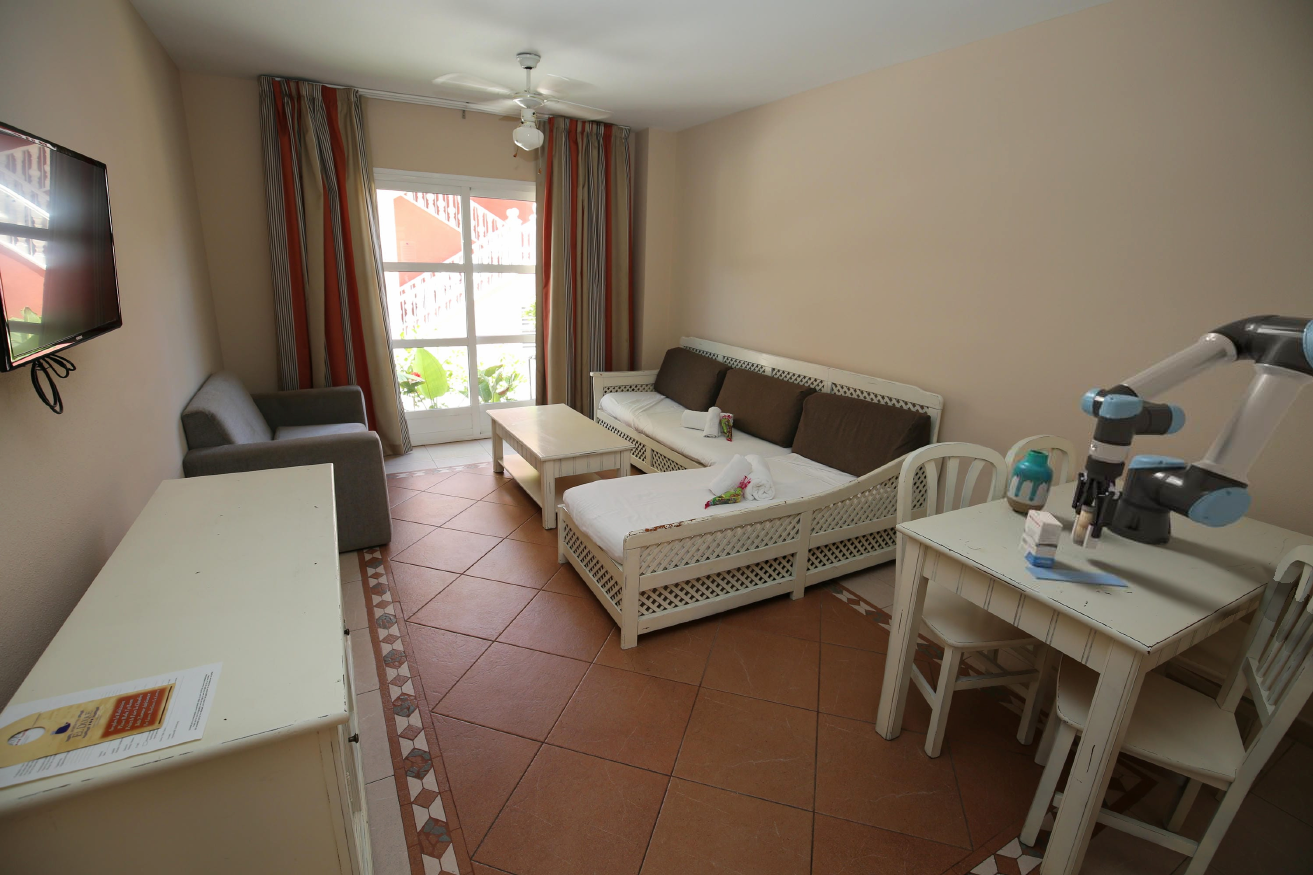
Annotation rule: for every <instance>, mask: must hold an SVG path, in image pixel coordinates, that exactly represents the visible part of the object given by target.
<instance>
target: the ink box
mask: <svg viewBox="0 0 1313 875" xmlns="http://www.w3.org/2000/svg"><path fill="white" fill-rule="evenodd" d="M1063 528H1064V525H1063V524H1062V523H1061V522H1060V521H1059V520H1057V519H1056V518H1055V517H1054V516H1053V515H1052V514H1051V513H1050V512H1049V511H1042V510H1041V511H1036V510H1029V513H1027V518H1026V520H1025V525H1024V528H1023V531H1022V532H1023V533H1022V535H1021V536H1022V537H1021V540H1020V544H1019V548H1018V551H1019V552H1020V553H1021V554H1022V556H1024V557H1025V559H1026V560H1027V561H1028V562H1029V563H1030V564H1031V565H1032V566H1033V567H1035V566H1037V567H1042V568H1053V564H1054V562H1055V557H1056V553H1057V549H1058V545H1059V543H1060V542H1059V541H1060V538H1061V534H1062V531H1063Z"/></svg>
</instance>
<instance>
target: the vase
mask: <svg viewBox="0 0 1313 875" xmlns="http://www.w3.org/2000/svg"><path fill="white" fill-rule="evenodd" d="M1049 456H1050V454H1049V453H1048V452H1047V451H1044V450H1039V449H1028V451H1027V454H1026V456H1025V458H1024V459H1023V460H1020V461H1018V462H1017V463H1016V464H1015V465H1014V467H1013V469H1012V472H1011V475H1010V479H1009V481H1008V486H1007V493H1006V501H1007V502H1006V503H1007V504H1008V505H1009V507H1011V508H1012V509H1013V510H1015V511H1016V512H1020V513H1024V514H1028V513H1029V510H1036V511H1042V510H1043V509H1044V507H1045V506H1046V504H1047V502H1048V499H1049V495H1050V493H1051V488H1052V484H1053V481H1054V480H1053V479H1054V471H1053V469H1052V467H1051V466H1050V465H1049V464H1048V463H1049V458H1050V457H1049Z"/></svg>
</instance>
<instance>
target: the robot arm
mask: <svg viewBox="0 0 1313 875" xmlns="http://www.w3.org/2000/svg"><path fill="white" fill-rule="evenodd" d="M1239 361H1254V363H1253V365H1252V366H1253V369H1254V370H1255V372H1256V375H1255V376H1254V378H1253V379H1252V381H1251V383H1249V386H1248V387H1247V389H1246V391H1245V392H1244V393H1243V395H1242V396H1241V399H1240V400H1239V401H1238V403H1237V405H1236V407H1235V408H1234V409H1233V411H1232V413H1231V414H1230V416H1229V418H1228V419H1227V421H1226V422H1225V424H1224V426H1223V427H1222V429H1221V430H1220V432H1219V434H1218V435H1217V437H1216V438H1215V440H1214V441H1213V443H1212V445H1211V446H1210V448H1209V449H1208V451H1207V453H1206V454H1205V456H1204V457H1203V458H1202V459H1201V460H1199V461H1195V462H1191V464H1190V466H1189V463H1188V461H1186V460H1184V459H1181V458H1176V457H1172V456H1165V455H1158V454H1157V455H1156V454H1138V455H1136V456H1134V457H1133V458H1132V460H1131V463H1130V465H1129V467H1128V468H1127V472H1126V476H1125V479H1124V483H1123V485H1122V489H1121V490H1118V489H1117V488H1116V480H1117V479H1118V478H1120V477H1121V476H1123V473H1124V470H1125V466H1126V462H1125V461H1126V460H1128V457H1129V453H1130V450H1131V448H1132V447H1131V445H1132V442H1133V439H1134V436H1166V435H1174V434H1177V433H1179V432H1180V431H1181V430H1182V429H1183V428H1184V427H1185V424H1186V421H1187V418H1186V414H1185V411H1184V410H1183V408H1181V407H1180V406H1179V405H1176V404H1173V403H1172V404H1171V403H1170V404H1169V403H1156V402H1155V403H1154V402H1151V401H1153V400H1156V399H1157V398H1159V397H1161V396H1163V395H1165V394H1167V393H1168V392H1170V391H1173V390H1174V389H1177V388H1178V387H1180V386H1183V385H1184V384H1186V383H1188V382H1190V381H1192V380H1194V379H1196V378H1197V377H1199V376H1202V375H1203V374H1205V373H1208V372H1210V371H1211V370H1213V369H1214V368H1215V369H1216V367H1225V366H1226V367H1227V366H1230V365H1231V364H1233V363H1235V362H1239ZM1309 384H1313V318H1312V317H1297V316H1288V315H1286V316H1285V315H1278V314H1258V315H1253V316H1248V317H1245V318H1241V319H1238V320H1234V321H1232V322H1229V323H1227V324H1223V325H1222V326H1219V327H1217V328H1215V329H1213V330H1210V331H1208V332H1207V333H1205V334H1203V335H1201V336H1200V337H1199V339H1198V340H1197V342H1196V343H1194V344H1192V345H1190V346H1188V347H1186V348H1185V349H1183V350H1181V351H1179V352H1177V353H1175V354H1173V355H1171V356H1169V357H1168V358H1165V359H1164V360H1162V361H1160V362H1158V363H1156V364H1154V365H1153V366H1150V367H1149V368H1146V369H1145V370H1142V371H1141V372H1139V373H1137V374H1135V375H1133V376H1131V377H1130V378H1127V379H1126V380H1124V381H1122V382H1120V383H1119V384H1116V385H1115V386H1113V387H1110V388H1109V389H1105V388H1091V389H1089V390H1088V391H1086V393H1085V394H1084V395H1083V397H1082V398H1081V401H1080V407H1081V410H1082V411H1083V412H1084V414H1086V415H1089V416H1090V417H1093V418H1095V419H1097V421H1096V425H1095V430H1094V433H1093V436H1092V441H1091V445H1090V446H1089V447H1090V448H1089V450H1088V451H1089V455H1088V456H1087V458H1086V460H1085V461H1086V462H1085V465H1084V470H1085V471H1087V472H1078V474H1077V479H1078V480H1077V485H1076V488H1075V491H1074V496H1073V500H1072V503H1071V508H1072V509H1073V510H1075V514H1076V515H1075V516H1074V517H1075V518H1074V521H1073V527H1072V531H1071V534H1070V538H1071V539H1072V540H1073V537H1074V534H1075V532H1076V528H1077V525H1078V521H1079V517H1080V514H1081V510H1082V505H1093V504H1094V505H1093V506H1094V512H1093V521H1092V523H1089V527H1088V530H1087V534H1086V537H1085V541H1084V545H1083V547H1082V548H1084V549H1088V550H1089V549H1090V550H1091V549H1092V550H1097V547H1098V543H1099V539H1100V538H1101V537H1102V536H1101V535H1102V533H1103V528H1106V529H1107V530H1108V531H1110V532H1112V533H1113V534H1116V535H1119V536H1121V537H1124V538H1126V539H1129V540H1132V541H1137V542H1140V543H1145V544H1153V545H1164V544H1168V543H1169V542H1170V540H1171V538H1172V526H1171V525H1172V524H1171V513H1172V512H1173V513H1175V514H1178V515H1180V516H1182V517H1185V518H1187V519H1189V520H1190V521H1192V522H1194V523H1198V524H1201V525H1204V526H1206V527H1209V528H1222V527H1226V526H1228V525H1232V524H1234V523H1236V522H1237V521H1239V520H1240V519H1241V518H1242V517H1244V516H1245V514H1246V513H1248V511H1249V509H1250V507H1251V505H1252V495H1251V493H1250V492H1249V491H1248V490H1247V488H1249V485H1250V482H1249V480H1248V478H1247V473H1248V472H1249V471H1250V469H1251V468H1252V466H1253V464H1254V463H1255V461H1256V460H1257V458H1258V457H1259V455H1260V454H1261V452H1262V450H1263V449H1264V448H1265V446H1266V444H1268V442H1269V440H1270V438H1271V437H1272V435H1273V434H1274V432H1275V430H1276V429H1277V428H1278V425H1280V423H1281V421H1282V420H1283V418H1284V417H1285V416H1286V414H1287V412H1288V411H1289V409H1290V408H1291V406H1292V405H1293V403H1294V401H1295V400H1296V398H1297V397H1298V395H1299V394H1300V392H1301V391H1302V390H1303V388H1304V387H1305V386H1306V385H1309Z"/></svg>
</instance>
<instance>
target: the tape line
mask: <svg viewBox="0 0 1313 875" xmlns="http://www.w3.org/2000/svg"><path fill="white" fill-rule="evenodd" d="M1025 570H1027V571H1028V572H1029V573H1030V574H1031V575H1032V576H1033V577H1034V578H1035V579H1040V580H1041V579H1042V580H1049V581H1050V580H1052V581H1061V582H1062V581H1063V582H1070V583H1071V582H1073V583H1083V584H1095V585H1105V586H1114V587H1115V586H1116V587H1126V588H1128V587H1129V585H1128V584H1126V583H1125V581H1123V580H1122V579H1120V578H1119V577H1117V576H1116V575H1115V574H1112V573H1111V574H1109V573H1098V572H1088V571H1076V570H1067V569H1066V570H1065V569H1058V568H1057V569H1055V568H1047V567H1035V566H1025Z"/></svg>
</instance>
